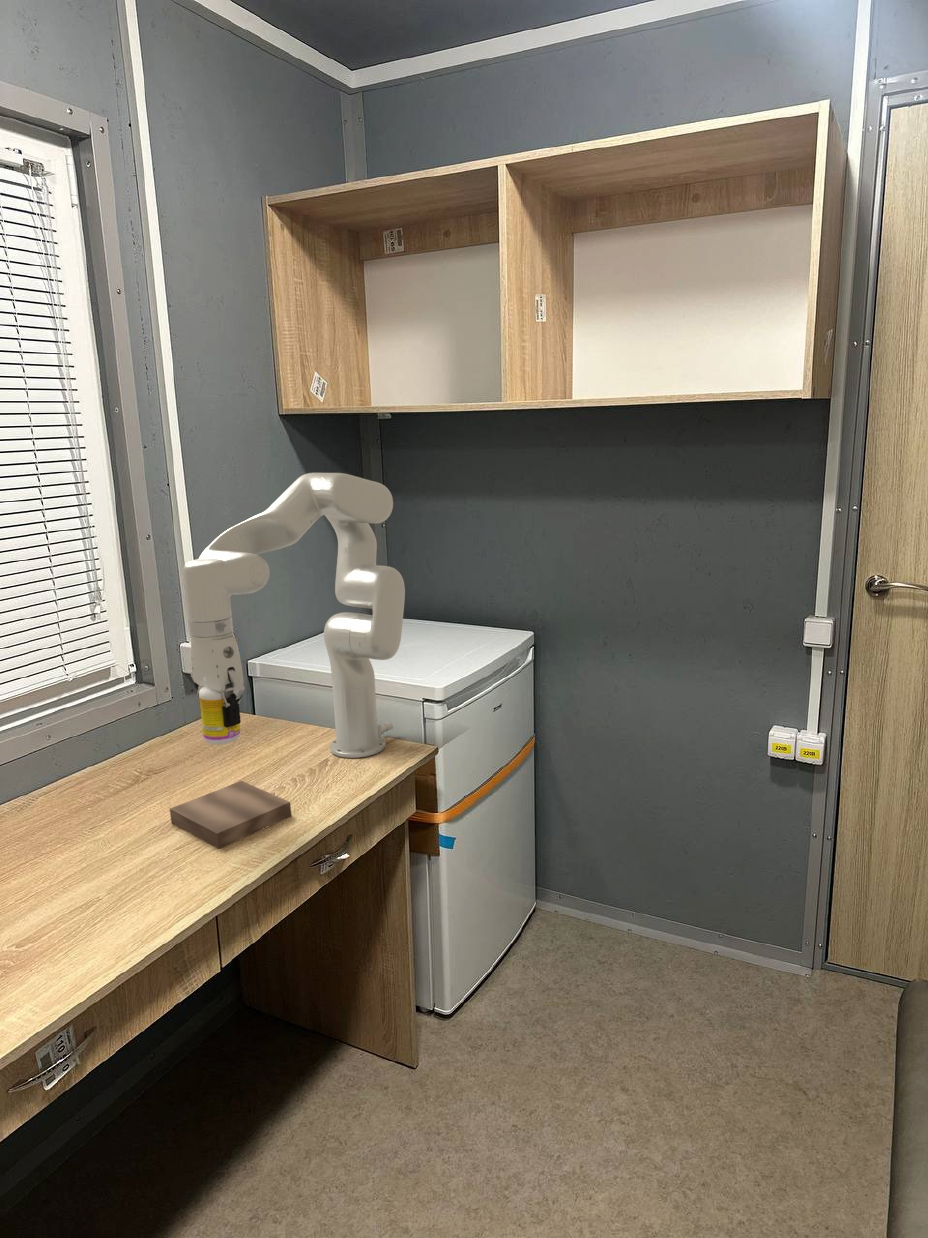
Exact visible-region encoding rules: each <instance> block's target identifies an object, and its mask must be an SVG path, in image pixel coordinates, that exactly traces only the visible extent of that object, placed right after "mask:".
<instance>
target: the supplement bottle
mask: <svg viewBox="0 0 928 1238" xmlns="http://www.w3.org/2000/svg"><path fill="white" fill-rule="evenodd" d="M203 681H204V683H206V685H205V687H202V688H201V690H200V691H199V697H198V698H199V706H200V707H201V709H200V716H201V726H202V736H203V740H204V741H205V742H204V743H207V744H209V745H227V744H231V743H233V742H236V741H237V740H238V739H240V736H241V725H240V724H241V723H240V724H237V725H234V726H231V727H228V728H226V727H224V721H223V711H222V707H223V706H224V703H223V700H222V697H221V695H220V692H218V691H215V690H212V689H210V687H209V686H208V685H207V684H208V683H209V682H208V680H207V678H206V677H204V679H203ZM225 688H226V689H227V688H230V685H227V686H225ZM226 694H227V696H228V698H229V696H230V695H231V694H232V692H231V691H230V692H227V693H226Z"/></svg>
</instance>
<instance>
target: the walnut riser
mask: <svg viewBox="0 0 928 1238" xmlns="http://www.w3.org/2000/svg"><path fill="white" fill-rule="evenodd" d="M291 806H292V805H291V801H289V800H286V799H284V798H281V796H278V795H275V794H273V793H270V792H268V791H266V790H263V789H262V788H259V787H257V786H255V785H252V784H250V783H248V782H246V781H243V780H240V781H238V782H235V783H232V784H230V785H228V786H224V787H222V788H219V789H217V790H214V791H211V792H210V793H207V794H204V795H202V796H199V797H197V798H194V799H192V800H189V801H186V802H184V803H181V804H179V805H175V806H173V807H171V808H169V813H170V821H171V824H172V825H174V826H176V827H178V828H179V829H182V830H183V831H185V832H187V833H188V834H190V835H192V836H194V837H196V838H197V839H200V840H201V841H204V842H205V843H208V844H209V845H211V846H213V847H214V848H217V849H218V850H220V849H222V848H224V847H226V846H228V845H231V844H233V843H235V842H238V841H240V840H243V839H245V838H247V837H248V836H249V837H250V836H251V835H253V834H255V832H256V833H258V832H260V831H262V830H264V829H263V828H265V829H267V828H268V827H267V826H269V827H271V826H273V825H276V824H278V823H280V822H282V820H283V821H285V820H287V819H289V818H291V817H292V807H291ZM284 819H285V820H284ZM275 823H276V824H275ZM266 827H267V828H266ZM261 829H262V830H261ZM259 830H260V831H259ZM257 831H258V832H257ZM244 837H245V838H244Z"/></svg>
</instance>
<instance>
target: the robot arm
mask: <svg viewBox="0 0 928 1238" xmlns="http://www.w3.org/2000/svg"><path fill="white" fill-rule="evenodd" d="M393 499H394V498H393V495H392V493H391V491H390V490H389V488H388V487H386V485H384V484H382V482H381V483H380V482H378V481H373V480H370V479H366V478H362V477H360V476H357V475H356V476H355V475H352V474H349V473H343V472H308V473H305V474H302V475H301V476H299V477H298V478H297V479H296V480H295V481H293V483H292V484H291V485H289V487H287V489H285V490H284V491H283V493H281V494H280V496H279V497H278V498H277V499H276V500H275V501H273V502H272V503H271V504H270V506H269V507H267V508H266V509H265V510H264V511H262V512H261V513H258V514H256V515H253V516H252V517H251V516H250V518H248V519H246V520H244V521H242V522H240V523H238V524H236V525H234V526H231V527H230V528H228V529H227V530H225V531H224V532H222V533H221V534H219V536H217V537H216V538H215V539H214V540H213V541H212V542H211V543H210V544H209V545H207V547H206V548H205V549H204V550H203V551H202V553H201V554H200V555H199V557H198V558H197V559H192V560H190V561H187V562H186V563H185V564H184V566H183V569H182V570H183V581H184V589H185V590H184V591H185V597H186V598H185V599H186V610H187V617H188V625H189V636H190V657H191V670H192V671H191V672H190V677H191V678H192V681H193V683H194V687H195V688H196V690H197V692H196V693H197V695H196V696H197V698H199V691H200V690H201V688H202V687H205V685H206V683H204V681H203V679H204V677H206V678H207V680H208V682H209V683H208V684H207V685H208V686H209V687H210V689H212V690H215V691H218V692H220V695H221V697H222V700H223V703H224V706H223V707H222V711H223V721H224V727H226V728H228V727H231V726H234V725H237V724H241V712H240V703H241V699H242V697H243V694H244V693H245V689H246V688H245V685H244V674H243V673H244V672H243V665H242V660H241V655H240V649H239V645H238V641H237V639H236V636H235V634H234V626H233V625H234V623H233V615H232V606H231V596H233V595H236V596H237V595H248V594H253V593H256V592H258V591H260V590H262V588H264V587H265V586H266V585H267V583H268V581H269V579H270V567H269V565H268V562H267V561H266V560H265V559H264V558H263V557H261V556H260V554H263V553H268V552H273V551H276V550H280V549H284V548H287V547H290V546H291V545H294V544H296V543H297V542H298V541H299V540H300V539H301V538H302V537H303V536H304V535H305V534H306V532H308V530H309V529H310V528H311V527H312V526H313V525H314V523H316V522H317V521H318V520H319V519H320V517H322V516H324V517H326V518H327V521H328V522H329V523H330V524H331V527H332V529H334V532H335V534H336V538H337V558H336V560H337V561H336V571H335V572H336V573H335V582H334V583H335V584H334V592H335V597H336V600H337V601H338V602H339V603H340V604H343V606H349V607H354V608H364V609H372V614H367V613H360V612H357V613H356V612H346V611H345V612H339V613H336V614H334V615H332V616H330V617H329V618H328V620H327V621H326V623H325V624H324V625H325V626H324V629H323V639H324V645H325V648H326V651H327V652H326V653H327V654H328V659H329V663H330V671H331V673H330V674H331V682H332V683H331V685H332V698H333V712H334V725H335V739H334V740H332V741H331V742H330V744H329V750H330V752H331V753H332V754H333V755H334V756H337V757H340V758H347V759H349V758H350V759H352V758H353V759H356V758H365V757H371V756H373V755H376V754H379V753H381V752H382V751H383V750H384V749H385V747H386V740H385V738H384V737H383V735H384V734H385V733H387V732H389V731H391V730H393V729H394V724H393V723H392V722H391V721H387V722H384V723H383V724H381V722H380V721H378V713H377V712H378V711H377V697H376V696H377V695H376V694H377V693H376V677H375V672H374V671H375V670H374V667H373V665H372V663H371V660H377V661H387V660H390V659H392V658H393V657H394V656H395V655H397V653H398V651H399V649H400V645H401V640H402V633H403V632H402V631H403V622H404V621H403V620H404V610H405V601H406V600H405V598H406V588H405V582H404V578H403V576H402V574H401V573H400V571H399V570H397V569H396V568H395V567H393V566H389V565H388V566H387V565H377V550H378V545H377V544H378V543H377V539H376V535H375V532H374V531H373V529H372V527H371V525H370V524H380V523H383V522H385V521H386V520H388V518H389V517H390V516H391V514H392V511H393V508H394V500H393ZM227 685H230V688H227V689H226V688H225V686H227ZM230 691H231V692H232V694H231V695H230V696H229V698H228V696H227V694H226V693H227V692H230ZM199 709H200V710H201V707H200V708H199Z"/></svg>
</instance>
